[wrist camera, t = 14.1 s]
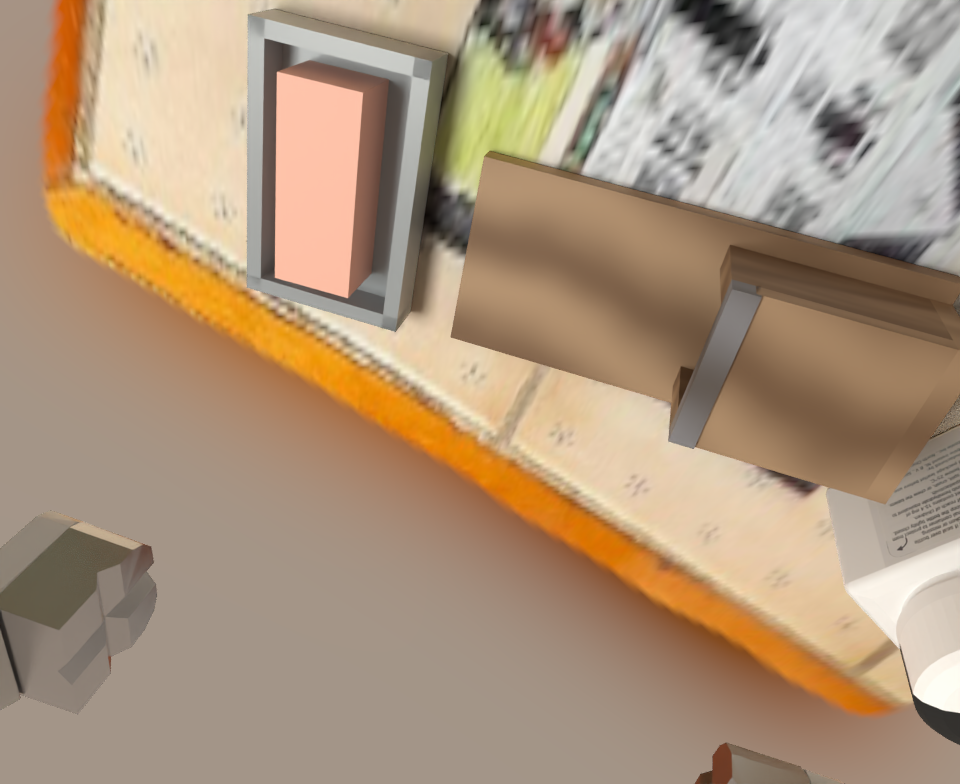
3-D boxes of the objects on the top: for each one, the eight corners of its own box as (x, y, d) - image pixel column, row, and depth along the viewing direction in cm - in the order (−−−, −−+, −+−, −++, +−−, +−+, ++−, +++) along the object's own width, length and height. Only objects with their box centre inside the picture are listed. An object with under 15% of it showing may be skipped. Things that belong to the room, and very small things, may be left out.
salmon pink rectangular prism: (302, 254, 41) (274, 277, 38) (309, 60, 35) (276, 71, 32) (371, 273, 40) (348, 298, 38) (389, 79, 35) (362, 92, 32)
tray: (273, 9, 35) (248, 14, 33) (448, 53, 34) (432, 61, 32) (268, 270, 43) (246, 287, 41) (410, 312, 42) (395, 331, 40)
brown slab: (489, 151, 36) (454, 188, 31) (958, 276, 33) (1001, 338, 29) (455, 328, 41) (421, 384, 37) (854, 446, 39) (875, 522, 34)
